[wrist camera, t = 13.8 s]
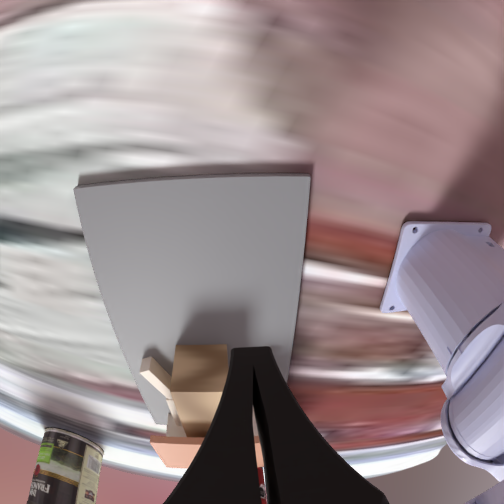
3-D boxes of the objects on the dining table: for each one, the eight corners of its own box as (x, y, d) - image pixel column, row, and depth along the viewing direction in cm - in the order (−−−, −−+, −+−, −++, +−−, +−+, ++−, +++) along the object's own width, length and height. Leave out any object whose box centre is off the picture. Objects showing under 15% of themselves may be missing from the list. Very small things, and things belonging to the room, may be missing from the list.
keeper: (308, 173, 18) (346, 222, 12) (279, 417, 32) (287, 468, 26) (77, 185, 17) (22, 236, 11) (156, 419, 31) (151, 470, 25)
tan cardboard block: (226, 344, 24) (227, 391, 20) (231, 408, 29) (233, 446, 25) (175, 344, 23) (169, 391, 19) (192, 408, 28) (190, 446, 25)
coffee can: (35, 430, 35) (17, 501, 23) (61, 423, 32) (42, 508, 20) (83, 458, 39) (73, 525, 27) (116, 453, 37) (107, 532, 25)
